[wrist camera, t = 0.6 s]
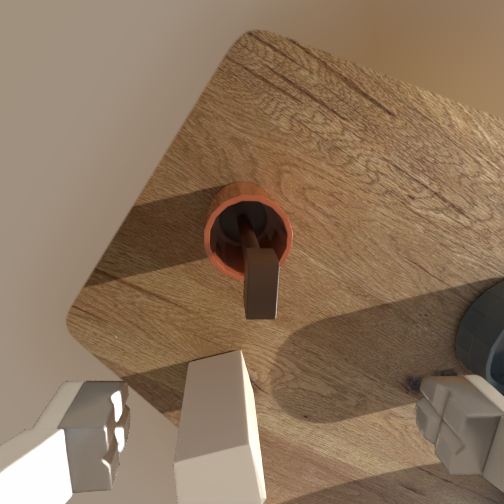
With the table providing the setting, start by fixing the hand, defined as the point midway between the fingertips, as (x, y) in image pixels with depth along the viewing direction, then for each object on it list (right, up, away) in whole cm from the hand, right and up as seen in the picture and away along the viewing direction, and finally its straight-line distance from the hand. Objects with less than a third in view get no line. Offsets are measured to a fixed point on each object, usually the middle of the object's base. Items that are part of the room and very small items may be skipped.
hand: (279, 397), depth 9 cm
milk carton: (-5, -13, +37) cm, 40 cm away
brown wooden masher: (-2, +8, +30) cm, 31 cm away
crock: (-2, +8, +30) cm, 31 cm away
